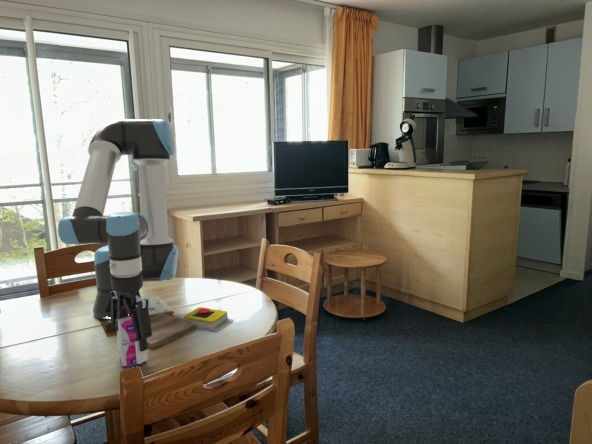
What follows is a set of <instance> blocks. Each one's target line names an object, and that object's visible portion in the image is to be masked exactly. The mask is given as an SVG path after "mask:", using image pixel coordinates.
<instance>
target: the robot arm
mask: <svg viewBox="0 0 592 444" xmlns="http://www.w3.org/2000/svg"><path fill="white" fill-rule="evenodd" d="M87 149H88V155H89V158H88V161H87V164H86V168H85V171H84V175H83V178H82V182H81V185H80V189H79V191H78V195H77V199H76V203H75V205H74V208H73V213H72V215H68V216H63V217H61V219H60V220H59V221H58V224H57V233H58V237H59V239H60V241H61V243H63V244H65V245H78V246H79V245H90V244H92V245H94V244H107V245H105V246H102V247H99V248H98V249H96V250H95V252H94V254H93V256H94V263H93V265H94V270H95V272H94V273H95V281H96V296H95V298H94V299H95V300H94V303H93V307H92V314H93V317H94V318H95V319H98V320H102V318H103V317H106V316H108V317H111V320H110V326H111V327H112V328H113V327H114V330H115V331H116V339H117V348H118V349H117V353H118V355H119V356H120V346H119V332H118V319H120V318H126V317H127V316H128V314H129V315H130V316H129V317H131V320H132V323H133V326H134V330H135V333H136V337H137V339H134V340H135V348H136V361H137V365H141V364H140V363H142V362H144V361H148V347H147V338H149V337H151V336H152V331H151V324H150V318H151V317H150V312H149V299H147V298H145V299H143V298H142V296H141V292H140V290H141V289H142V288H143V286H144V282H162V281H171V280H173V279H174V278H175V276H176V273H177V270H178V269H177V268H178V262H179V247H178V246H177V245H174V239H172V238H171V237H170V236H169V222H168V221H169V219H168V199H167V197H168V196H167V177H166V175H167V174H166V165H167V164H168V163H169V162H170V158H171V157H170V156H173V155H174V154H175V144H174V137H173V133H172V129H171V127H170V124H169V123H168V121H167V120H165V119H159V118H158V119H157V118H118V119H115V120H112V121H109V122H107V123H105V124H104V125H103V126H102V127H100V128H99V129H98V130H97V131H96V133H95V134H94V135H93V137H92V139H91V140H90V142H89V145H88V147H87ZM122 156H132V161H133V162H134V163H135V164H136V165H137V169H138V187H139V191H138V192H139V207H140V208H139V209H140V212H133V211H132V212H131V211H121V212H113V213H110V214H108V215H104V212H105V208H106V205H107V200H108V197H109V193H110V192H109V191H110V188H111V184H112V181H113V175H114V172H115V168H116V165H117V163H118V162H119V161H120V160H121V157H122ZM140 334H141V335H140Z"/></svg>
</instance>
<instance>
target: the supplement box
mask: <svg viewBox="0 0 592 444" xmlns="http://www.w3.org/2000/svg"><path fill="white" fill-rule="evenodd" d="M118 332H119V346H120V355H119V358H120V363H121V366H122V369H123V368H127V367H132V366H137V365H138V364H137V361H136V348H135V340H134V339H137V337H136V333H135V330H134V326H133V323H132V320H131V316H129V317H126V318H120V319H118ZM140 335H141V334H140ZM146 361H147V360H146ZM146 361H144V362H142V363H140V364H139V365H142V364H146V363H147V362H146Z"/></svg>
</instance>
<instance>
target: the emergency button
mask: <svg viewBox="0 0 592 444" xmlns="http://www.w3.org/2000/svg"><path fill="white" fill-rule="evenodd" d="M228 317H229V316H228V311H226V310H221V309H216V308H215V309H213V308H207V307H201V306H200V307H196V308H195V309H193V310H192V311H190V312H188V313H186V314H185V315H184V316H183V320H184V321H186V322H189V323H192V324H195V325H196V328H198V329H203V330H208V331H209V330H211V331H215V332H219V331H222V330H223V329H225V328H226V327H228V326H229V325H231V324H232V323H233V322H234V319H232V318H228Z"/></svg>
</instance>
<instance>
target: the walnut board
mask: <svg viewBox="0 0 592 444" xmlns="http://www.w3.org/2000/svg"><path fill="white" fill-rule="evenodd" d="M149 318H150V324H151V331H152V336H151V337H149V338H147V349H150V350H152V349H154V348H157V347H160V346H161V345H164V344H166V343H168V342H171V341H173V340H175V339H177V338H179V337H181V336H184V335H186V334H189V333H191V332H193V331H195V330H197V327H196V325H195V324H192V323H189V322H186V321H184V319H181V318H179V317H176V316H172V315H169V314H166V313H164V314H162V313H161V315H160V314H157V315H155V316H154V315H153V316H152V317H149Z"/></svg>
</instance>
